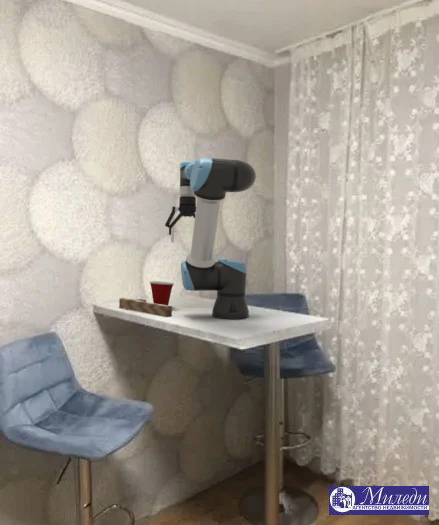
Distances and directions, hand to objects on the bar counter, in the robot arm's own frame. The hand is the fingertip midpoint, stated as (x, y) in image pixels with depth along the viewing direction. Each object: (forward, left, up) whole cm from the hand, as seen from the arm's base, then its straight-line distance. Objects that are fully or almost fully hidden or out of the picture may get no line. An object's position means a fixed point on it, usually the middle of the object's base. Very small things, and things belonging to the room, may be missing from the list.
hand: (186, 242), depth 218 cm
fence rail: (-2, +23, -29) cm, 37 cm away
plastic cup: (-1, +16, -29) cm, 33 cm away
